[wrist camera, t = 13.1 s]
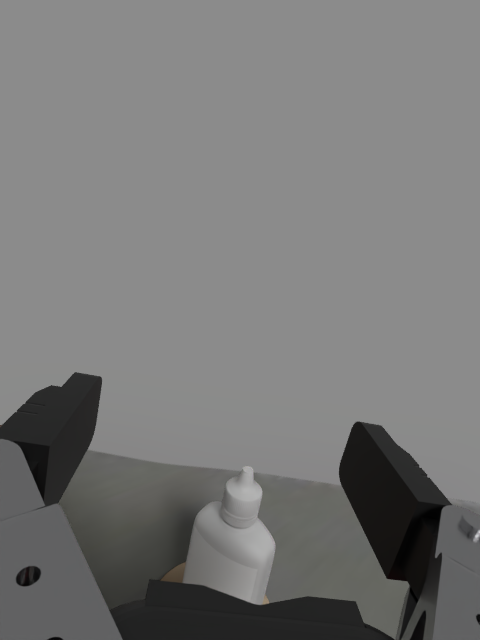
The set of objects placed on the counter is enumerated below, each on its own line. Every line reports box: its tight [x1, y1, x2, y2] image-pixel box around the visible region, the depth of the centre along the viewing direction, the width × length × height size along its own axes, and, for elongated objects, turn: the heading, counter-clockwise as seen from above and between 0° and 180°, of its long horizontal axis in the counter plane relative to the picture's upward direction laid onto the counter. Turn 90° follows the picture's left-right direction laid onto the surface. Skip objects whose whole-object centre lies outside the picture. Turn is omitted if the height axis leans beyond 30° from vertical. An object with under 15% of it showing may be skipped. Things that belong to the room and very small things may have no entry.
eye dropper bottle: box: [182, 466, 276, 605], centre depth 25 cm, size 4×6×12 cm
